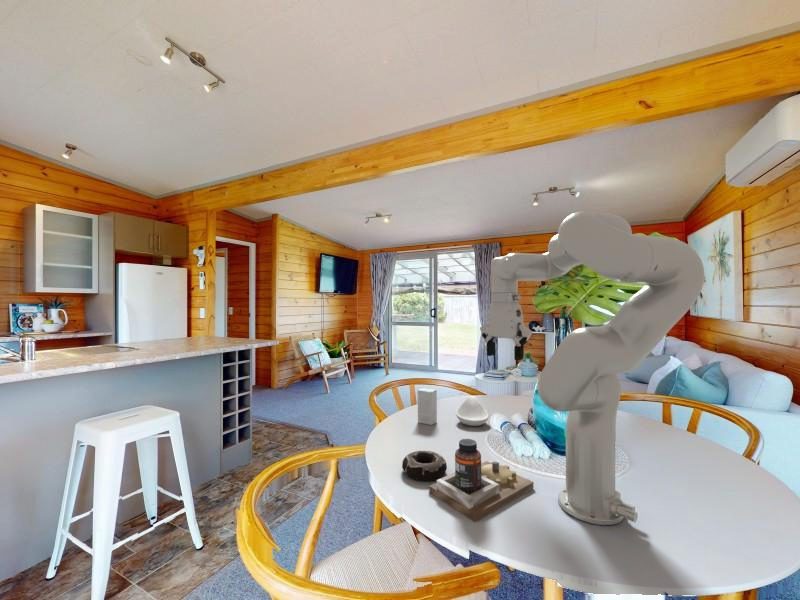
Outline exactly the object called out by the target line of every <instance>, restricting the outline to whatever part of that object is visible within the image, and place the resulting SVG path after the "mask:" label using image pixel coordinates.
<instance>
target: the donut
mask: <svg viewBox="0 0 800 600" xmlns="http://www.w3.org/2000/svg"><path fill="white" fill-rule="evenodd" d="M401 463H402V464H401V465H402V466H401V468H402V470H403V472H404V474H405V475H406V476H407V477H409V478H411V479H413V480H416V481H420V482H431V481H435V480H436V481H437V480H438V479H441V478H443V477H444V475H445V474H446V472H447V462H446V459H445V458H444V457H443V456H442V455H441V454H439V453H437V452H435V451H430V450H416V451H413V452H410V453H408V454H407V455H405V457H404V458H403V460H402V462H401Z"/></svg>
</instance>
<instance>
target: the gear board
mask: <svg viewBox="0 0 800 600" xmlns="http://www.w3.org/2000/svg"><path fill="white" fill-rule="evenodd" d="M481 477H482V489H480V490H478V491H476V492H474V493H472V494H470V495H468V494H466V493H465V492H463V491H461V490H459V489H458V488H456V486H455V472H453V473H450V474H448V475H446V476H442V477H440V478H438V479H436V482H435V483H433V484H431V485H429V486H428V489H429V491H428V492H429V493H430V494H432V495H433V496H434V497H436V498H437V499H439V500H440V501H442V502H444V503H446V504H447V505H448V506H450V507H451V508H452V509H454V510H456V511H458V512H459V513H461V514H462V515H463V516H466V517H467V518H469V519H471V520H472V521H474V522H475V523H476V522H477V521H479V520H481V519H483V518H484V517H486V516H488V515H490V514H492V513H493V512H495V511H497V510H498V509H500V508H503V506H505V505H507V504H509V503H510V502H512V501H514V500H515V499H518V498H520V497H522V495H524V494H525V495H526V493H528V492H530V491H531V490H533V489H534V481H533V480H532V481H531V480H530V479H528V478H525V477H523V476H521V475H519V474H517V472H516V471H512V470H511V469H510V465H509V466H508V465H506V464H505V465H502V464H500V463H499V462H497V461H493V462H489V461H487V460H486V461H483V462H481Z"/></svg>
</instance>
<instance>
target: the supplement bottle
mask: <svg viewBox="0 0 800 600" xmlns="http://www.w3.org/2000/svg"><path fill="white" fill-rule="evenodd" d="M477 446H478V444H477V441H476V440H474V439H471V438H461V439H460V440H459V441H458V447H459V448H457V449H456V450H455V452H454V453H455V454H454V471H455V472H454V473H455V486H456V488H458V489H459V490H461V491H463V492H465V493H466V494H468V495H470V494H472V493H474V492H476V491H478V490H480V489H482V477H481V463H482V454H481V452H480V450H478V447H477Z"/></svg>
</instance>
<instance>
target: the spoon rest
mask: <svg viewBox="0 0 800 600" xmlns="http://www.w3.org/2000/svg"><path fill="white" fill-rule="evenodd" d="M455 416H456V418H457V419H458V421H459V422H460V423H462V424H463V425H467V426H471V427H478V426H481V425H484V424H485V423H487V421H488V419H489V418H490V415H489V413H488V411H487V410H486V408H485V407H484V406H483V405H482V404H481V402H480V401H479V400H478V398H477V396H476V395H466V398H465V399H464V400H463V402H462V403H461V404H460V406H459V407H458V408H457V410H456V412H455Z"/></svg>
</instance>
